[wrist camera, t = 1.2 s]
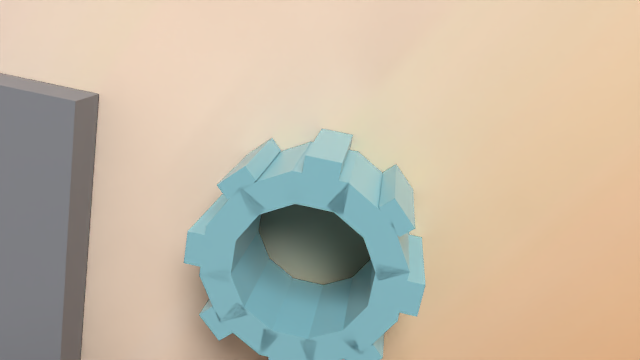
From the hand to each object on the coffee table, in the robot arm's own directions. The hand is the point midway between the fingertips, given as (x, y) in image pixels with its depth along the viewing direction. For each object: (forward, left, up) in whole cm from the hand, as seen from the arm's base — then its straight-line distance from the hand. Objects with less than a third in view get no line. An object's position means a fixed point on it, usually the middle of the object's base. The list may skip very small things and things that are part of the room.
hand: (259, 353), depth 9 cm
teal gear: (-2, 0, -11) cm, 11 cm away
